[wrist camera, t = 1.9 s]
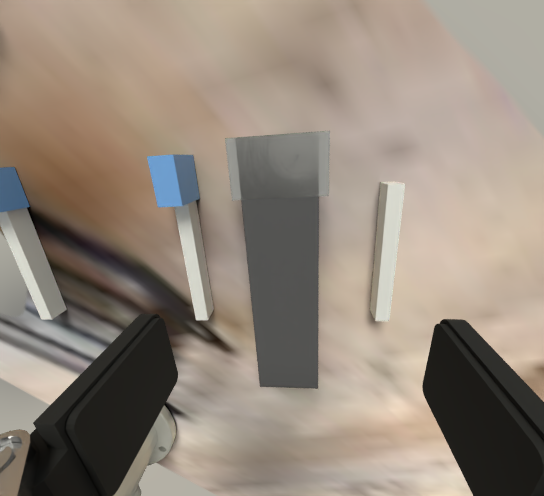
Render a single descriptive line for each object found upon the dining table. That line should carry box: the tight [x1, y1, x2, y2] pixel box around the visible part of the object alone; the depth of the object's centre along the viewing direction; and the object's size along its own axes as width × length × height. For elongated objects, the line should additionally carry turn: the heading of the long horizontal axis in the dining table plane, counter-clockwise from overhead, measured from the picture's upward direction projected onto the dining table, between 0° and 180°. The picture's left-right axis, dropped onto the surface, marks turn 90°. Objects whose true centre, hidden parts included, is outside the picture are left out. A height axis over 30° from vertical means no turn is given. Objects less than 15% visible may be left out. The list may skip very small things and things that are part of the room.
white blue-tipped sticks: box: [0, 155, 405, 321], centre depth 18 cm, size 12×29×3 cm, turn 93°
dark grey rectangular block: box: [225, 131, 330, 389], centre depth 17 cm, size 16×5×5 cm, turn 3°
